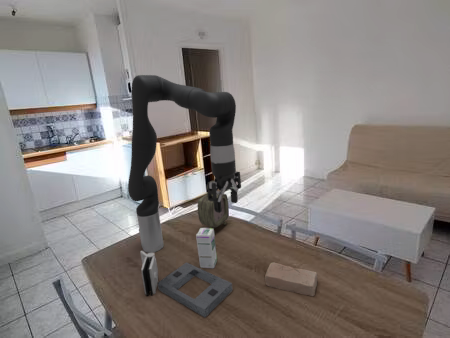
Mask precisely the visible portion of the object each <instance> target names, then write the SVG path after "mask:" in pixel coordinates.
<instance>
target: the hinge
mask: <svg viewBox="0 0 450 338" xmlns="http://www.w3.org/2000/svg"><path fill="white" fill-rule="evenodd" d="M139 253H140V258H141V264H142V266H141V269H140V271H141V278H142V283H143V288H144V289H143V291H144V295H146V297H149V295H150V297H153V295H155V294H156V292H157V287H158V282H159V269H158V263H157V258H156V255H155V252H150V253H149V252H145V251H143V250H140V252H139Z"/></svg>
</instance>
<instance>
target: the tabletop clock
mask: <svg viewBox="0 0 450 338" xmlns="http://www.w3.org/2000/svg"><path fill="white" fill-rule="evenodd" d="M209 182H214V180H211V181H209ZM206 190H207V192H206V194H205V195H203V196H202V197H200V198H198V201H197V216H198V220H199V223H200V224H201V225H203V226H206V227H209V228H213V229H214V228H218V227H220V226H221V225H224V226H226V225H227V220H228V218H229V216H230V215H229V209H230V208H229V197H228V195H227V194H226V193H224V195H222V197H221V200H220V201H221V208H222V212H220V213H218V212H216V211H215V210H214V202H213V201H209V200H208V186H207V185H206ZM218 195H219V194H217V198H218ZM212 197H213V195H212ZM214 234H216V233H215V231H214Z"/></svg>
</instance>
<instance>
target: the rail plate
mask: <svg viewBox="0 0 450 338" xmlns="http://www.w3.org/2000/svg"><path fill="white" fill-rule="evenodd" d="M194 277H196V278H198V279H200V280H202V281H205V282H206V283H208V284H210V285H209V286H207V288H206V289H204V290H203V291H202V292H200V294H198V295H197V296H196V297H195V298H194V297H191V296H190V295H188V294H186V293H185V292H182V291H180V290H179V289H180V288H182V287H183V286H184V285H185V284H186V283H188V282H189V281H191V280H192V279H193V278H194ZM157 287H158V291H160V292H161V293H163V294H164V295H166V296H168V297H169V298H171V299H173V300H174V301H176V302H178V303H179V304H181V305H183V306H184V307H186V308H188V309H190V310H191V311H193V312H195V313H196V314H198V315H199V316H201V317H203V318H207V316H208V315H210V313H211V312H213V310H214V309H216V308H217V307H218V305H219V304H221V302H222V301H224V299H226V297H228V296H229V295H230V294H231V293H232V291H233V283H232V282H230V281H228V280H226V279H224V278H221V277H219V276H218V275H215V274H213V273H210V272H209V271H206V270H204V269H203V268H202V269H201V267H197V266H195V265H193V264H191V263H189V262H184V263H183V264H182V265H181V266H179V267H178V268H177V269H175V270H174V271H172V272H170V273H169V274H168V275H166V276H165V277H164V278H162V279H160V280H158V283H157Z"/></svg>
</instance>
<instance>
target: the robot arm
mask: <svg viewBox="0 0 450 338" xmlns="http://www.w3.org/2000/svg"><path fill="white" fill-rule="evenodd" d="M161 101H167V102H169V101H171V102H174V103H175V104H176V105H177V106H178V107H181V108H183V109H186V110H191V111H195V112H197V113H199V114H201V115H203V116H204V117H207V118H213V119H214V118H216V120H215V121H216V122H215V123H214V124H213V125H212V126H210V128H209V142H210V149H209V150H210V151H209V152H210V153H209V154H210V163H211V166H210V167H211V173H212V175H213V176H214V179H213V181H214V182H210V181H208V182H207V185H206V187H207V186H208V190H207V192H208V200H209V201H213V202H214V210H215V211H216V212H218V213H220V212H222V208H221V201H220V200H221V197H222V195H224V194H226V193H225V192H227V191H228V190H229V191H230V201H231V203H233V204H237V203H238V199H239V198H238V192H239V189H241V188H242V182H241V181H242V179H241V172H240V171H237V167H236V166H237V165H236V152H235V147H234V135H233V134H234V133H233V128H234V123H235V119H236V112H237V107H236V106H237V105H236V104H237V103H236V101H235V98H234V95H232V93H230V92H228V91H221V92H219V91H218V92H211V91H210V92H209V91H208V92H207V91H206V90H205V89H203V88H200V87H195V86H189V85H185V84H179V83H176V82H172V81H170V80H168V79H166V78H164V77H161V76H159V75H155V74H154V75H153V74H152V75H151V74H144V75H143V74H139V75H136V76H134V77H133V79H132V82H131V106H132V134H131V155H130V156H131V159H130V160H131V162H130V169H129V177H128V183H127V191H128V196H129V197H130V199H131V201H134V202H140V201H141V202H140V204H138V206H137V207H136V210H135V213H136V217H137V222H138V232H139V239H140V244H141V248H142V251H143V252H145V253H151V252H152V253H156V252H158V251H160V250H161V249H163V247H164V239H163V237H164V236H163V233H162V232H163V231H162V225H161V218H160V212H159V211H160V210H159V204H160V202H159V190H158V185H157V181H156V180H155V178H154V177H153V176H151V175H145V172H146V171H147V168H149V165H150V164H151V162H152V161H153V159H154V157H155V155H156V153H157V152H156V151H157V145H158V143H157V142H158V136H157V132H156V130H155V128H154V126H153V124H152V123H151V121H150V119H149V113H148V111H149V110H148V108H149V103H157V102H161ZM217 194H219V195H218V198H217ZM212 195H213V197H212Z"/></svg>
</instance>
